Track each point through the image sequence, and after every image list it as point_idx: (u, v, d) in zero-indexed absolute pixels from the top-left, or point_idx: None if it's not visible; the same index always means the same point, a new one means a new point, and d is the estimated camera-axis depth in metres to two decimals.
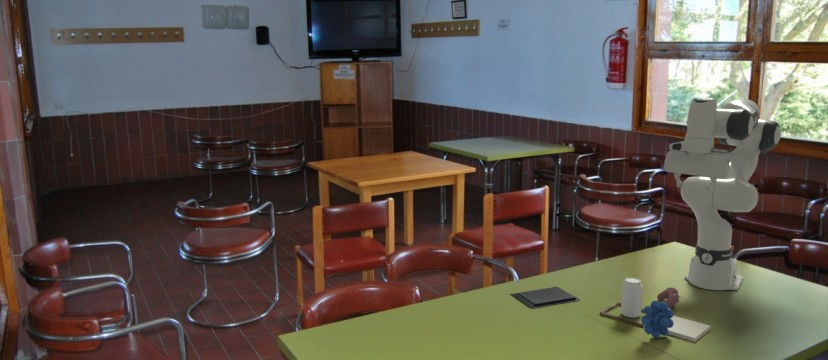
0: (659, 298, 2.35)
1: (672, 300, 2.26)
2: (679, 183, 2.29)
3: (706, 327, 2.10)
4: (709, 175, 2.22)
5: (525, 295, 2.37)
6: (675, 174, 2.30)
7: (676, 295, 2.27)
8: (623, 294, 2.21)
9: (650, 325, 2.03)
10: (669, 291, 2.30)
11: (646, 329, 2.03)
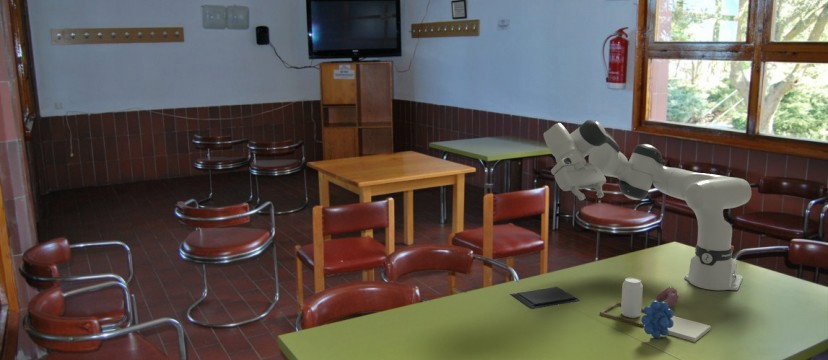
0: (658, 298, 2.35)
1: (671, 300, 2.26)
2: (583, 194, 2.29)
3: (706, 327, 2.10)
4: (597, 181, 2.35)
5: (525, 295, 2.37)
6: (576, 188, 2.29)
7: (675, 295, 2.27)
8: (623, 294, 2.21)
9: (650, 325, 2.03)
10: (668, 291, 2.30)
11: (646, 329, 2.03)
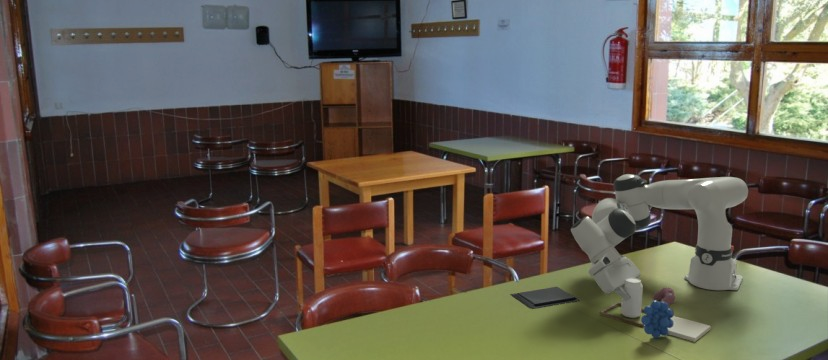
0: (655, 298, 2.36)
1: (668, 300, 2.26)
2: (628, 294, 2.18)
3: (706, 327, 2.10)
4: (634, 276, 2.25)
5: (525, 295, 2.37)
6: (620, 288, 2.18)
7: (672, 295, 2.27)
8: None
9: (650, 325, 2.03)
10: (665, 291, 2.30)
11: (646, 329, 2.03)
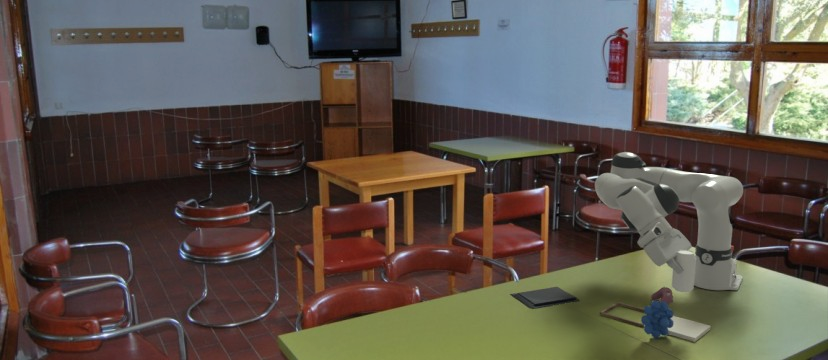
0: (653, 298, 2.36)
1: (666, 300, 2.27)
2: (680, 267, 2.05)
3: (706, 327, 2.10)
4: (686, 248, 2.12)
5: (525, 295, 2.37)
6: (673, 260, 2.05)
7: (670, 295, 2.27)
8: None
9: (650, 325, 2.03)
10: (663, 291, 2.30)
11: (646, 329, 2.03)
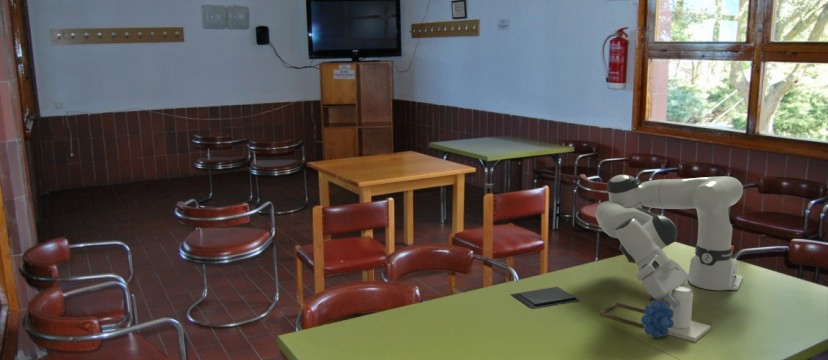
0: (651, 298, 2.36)
1: (664, 300, 2.27)
2: (677, 301, 2.07)
3: (706, 327, 2.10)
4: (683, 280, 2.14)
5: (525, 295, 2.37)
6: (669, 295, 2.06)
7: None
8: None
9: (650, 325, 2.03)
10: None
11: (646, 329, 2.03)
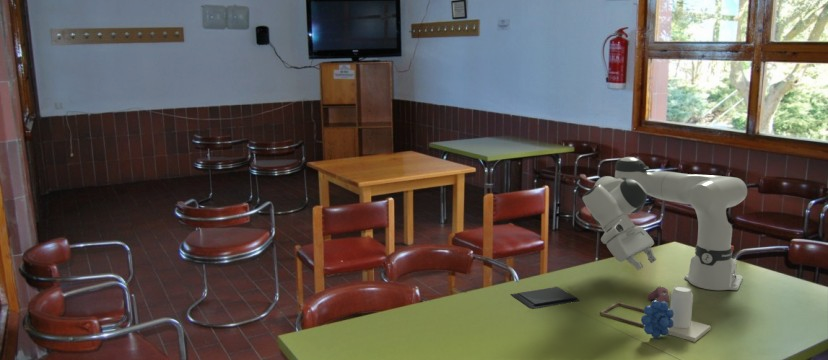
0: (649, 298, 2.36)
1: (662, 300, 2.27)
2: (640, 263, 2.13)
3: (706, 327, 2.10)
4: (648, 244, 2.20)
5: (525, 295, 2.37)
6: (632, 257, 2.12)
7: (666, 295, 2.27)
8: (672, 304, 2.09)
9: (650, 325, 2.03)
10: (659, 291, 2.30)
11: (646, 329, 2.03)
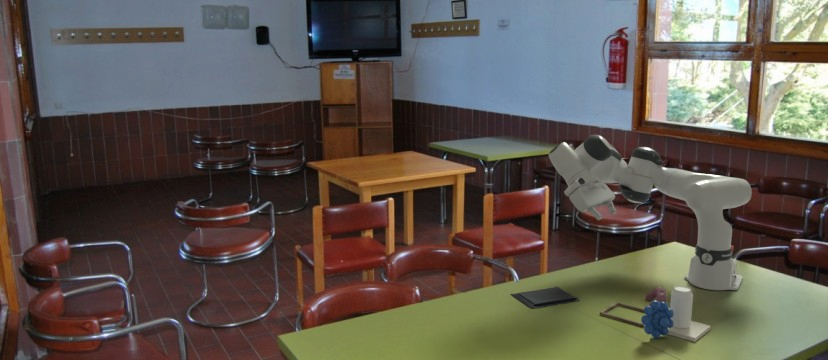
0: (647, 298, 2.36)
1: (660, 300, 2.27)
2: (600, 213, 2.28)
3: (706, 327, 2.10)
4: (609, 198, 2.35)
5: (525, 295, 2.37)
6: (593, 208, 2.27)
7: (664, 294, 2.28)
8: (672, 304, 2.09)
9: (650, 325, 2.03)
10: (657, 290, 2.30)
11: (646, 329, 2.03)
